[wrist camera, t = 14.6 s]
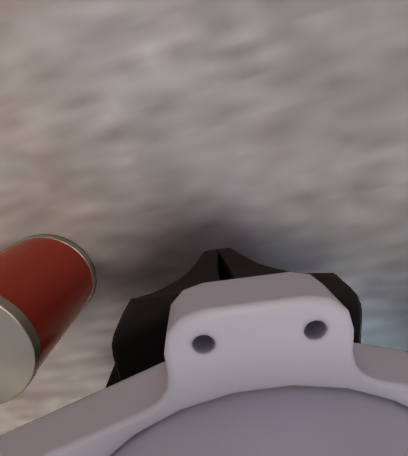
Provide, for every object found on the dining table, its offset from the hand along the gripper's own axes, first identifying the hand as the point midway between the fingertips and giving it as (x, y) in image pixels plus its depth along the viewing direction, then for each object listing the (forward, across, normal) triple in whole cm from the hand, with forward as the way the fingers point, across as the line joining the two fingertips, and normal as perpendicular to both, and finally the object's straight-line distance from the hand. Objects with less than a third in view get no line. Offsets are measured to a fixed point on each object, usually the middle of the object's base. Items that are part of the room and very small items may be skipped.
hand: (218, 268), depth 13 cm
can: (+2, +10, 0) cm, 10 cm away
